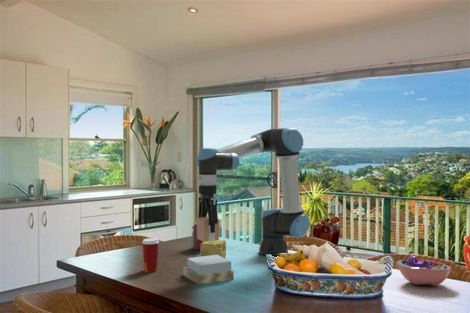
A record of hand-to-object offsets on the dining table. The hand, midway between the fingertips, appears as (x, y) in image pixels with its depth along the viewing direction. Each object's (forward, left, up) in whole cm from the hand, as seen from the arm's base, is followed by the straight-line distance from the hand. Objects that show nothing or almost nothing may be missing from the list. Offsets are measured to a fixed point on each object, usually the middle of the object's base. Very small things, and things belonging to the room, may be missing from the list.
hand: (207, 238), depth 193 cm
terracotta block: (0, 0, 0) cm, 0 cm away
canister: (-22, -52, -17) cm, 59 cm away
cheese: (-13, -22, -17) cm, 31 cm away
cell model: (-70, +52, -17) cm, 89 cm away
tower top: (0, 0, -13) cm, 13 cm away
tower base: (0, 0, -17) cm, 17 cm away
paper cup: (+18, -22, -17) cm, 33 cm away
